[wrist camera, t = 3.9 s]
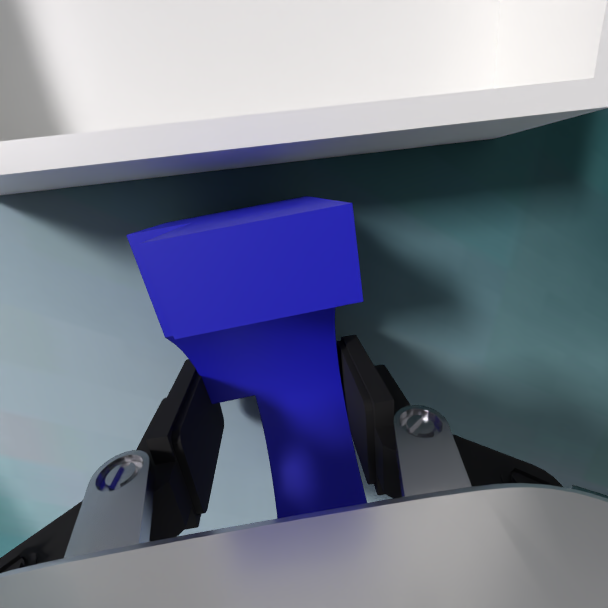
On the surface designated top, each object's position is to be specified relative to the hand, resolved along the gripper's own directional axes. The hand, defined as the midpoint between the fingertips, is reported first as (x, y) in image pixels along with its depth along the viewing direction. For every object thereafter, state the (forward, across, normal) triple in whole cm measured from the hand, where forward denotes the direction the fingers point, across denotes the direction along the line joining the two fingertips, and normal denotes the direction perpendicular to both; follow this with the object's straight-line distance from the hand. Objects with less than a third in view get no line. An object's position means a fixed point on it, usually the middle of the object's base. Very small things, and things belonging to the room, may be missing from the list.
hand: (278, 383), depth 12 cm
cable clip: (+1, 0, 0) cm, 1 cm away
